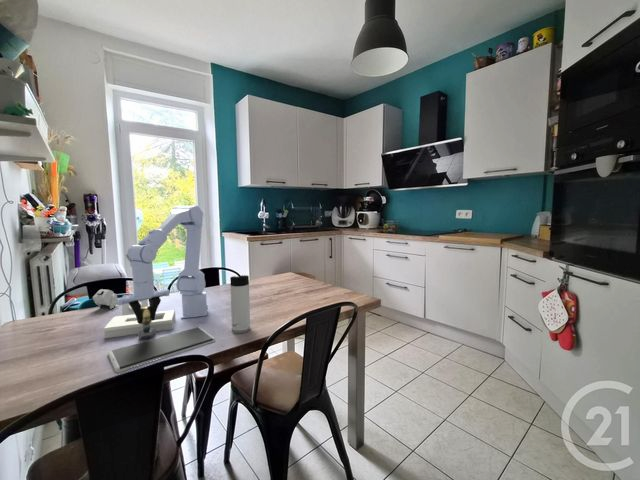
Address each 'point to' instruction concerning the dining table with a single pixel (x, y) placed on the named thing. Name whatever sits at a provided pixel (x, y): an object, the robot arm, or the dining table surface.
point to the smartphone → (158, 348)
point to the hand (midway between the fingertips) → (146, 321)
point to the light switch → (128, 310)
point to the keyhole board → (131, 326)
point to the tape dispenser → (105, 299)
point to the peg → (146, 323)
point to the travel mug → (240, 304)
